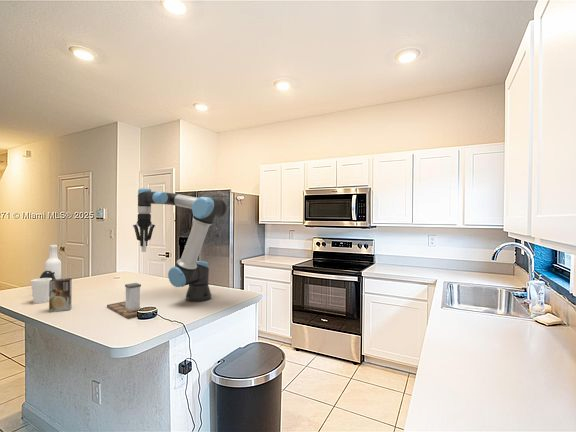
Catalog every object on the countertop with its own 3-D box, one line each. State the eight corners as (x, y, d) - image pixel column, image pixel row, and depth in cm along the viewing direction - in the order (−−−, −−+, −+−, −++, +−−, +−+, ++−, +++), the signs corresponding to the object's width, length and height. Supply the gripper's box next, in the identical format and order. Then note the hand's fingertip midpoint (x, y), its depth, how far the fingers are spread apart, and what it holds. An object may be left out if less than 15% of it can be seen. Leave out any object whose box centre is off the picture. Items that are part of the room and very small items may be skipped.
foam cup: (26, 303, 172) (27, 280, 173) (44, 299, 181) (45, 277, 181) (37, 305, 169) (37, 281, 169) (55, 301, 177) (55, 278, 178)
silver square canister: (124, 310, 156) (125, 284, 156) (135, 307, 160) (136, 282, 161) (129, 312, 153) (129, 286, 153) (140, 310, 157) (140, 284, 157)
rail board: (106, 307, 166) (106, 304, 166) (126, 303, 174) (126, 300, 174) (127, 319, 148) (128, 315, 148) (148, 314, 156) (148, 311, 156)
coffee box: (72, 307, 166) (72, 277, 166) (70, 310, 161) (70, 279, 161) (51, 309, 162) (51, 279, 162) (48, 312, 156) (48, 281, 156)
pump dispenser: (45, 297, 186) (46, 272, 186) (32, 296, 188) (32, 271, 188) (61, 293, 196) (61, 269, 196) (48, 292, 198) (48, 268, 198)
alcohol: (53, 290, 201) (54, 245, 201) (40, 290, 201) (41, 245, 202) (64, 287, 210) (64, 244, 210) (51, 287, 210) (52, 244, 210)
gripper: (151, 213, 195) (151, 250, 195) (130, 213, 186) (130, 251, 185) (157, 213, 190) (156, 251, 190) (136, 213, 181) (135, 252, 180)
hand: (143, 251), depth 188 cm, fingers closed
